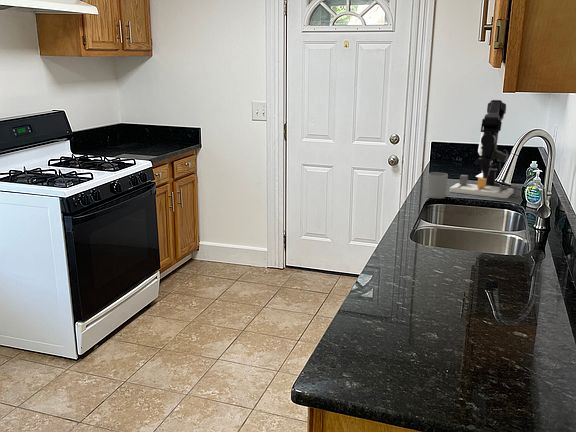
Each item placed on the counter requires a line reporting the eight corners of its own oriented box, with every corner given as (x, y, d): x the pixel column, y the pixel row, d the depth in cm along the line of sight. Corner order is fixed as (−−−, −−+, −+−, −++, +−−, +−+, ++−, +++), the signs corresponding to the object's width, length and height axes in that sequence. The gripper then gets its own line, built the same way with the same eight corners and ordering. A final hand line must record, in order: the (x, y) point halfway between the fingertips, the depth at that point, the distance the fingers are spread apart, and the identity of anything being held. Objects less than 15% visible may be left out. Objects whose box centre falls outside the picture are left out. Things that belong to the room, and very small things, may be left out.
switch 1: (461, 183, 260) (461, 174, 259) (467, 183, 258) (468, 175, 257) (459, 184, 257) (460, 175, 256) (465, 184, 256) (466, 176, 254)
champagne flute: (491, 177, 285) (495, 130, 278) (478, 177, 285) (482, 130, 279) (486, 175, 291) (491, 129, 285) (474, 175, 291) (478, 129, 285)
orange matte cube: (479, 186, 252) (479, 177, 251) (485, 187, 251) (486, 178, 250) (477, 187, 250) (478, 178, 249) (484, 188, 248) (484, 179, 247)
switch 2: (501, 187, 250) (501, 178, 249) (508, 188, 248) (508, 179, 247) (499, 188, 248) (500, 179, 247) (506, 189, 246) (507, 180, 245)
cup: (447, 195, 246) (449, 173, 243) (444, 199, 238) (446, 176, 236) (428, 193, 249) (430, 171, 246) (424, 197, 242) (426, 174, 239)
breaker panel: (457, 186, 263) (458, 182, 262) (513, 193, 250) (513, 188, 249) (449, 191, 252) (449, 187, 252) (506, 198, 239) (507, 193, 239)
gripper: (502, 148, 239) (499, 183, 244) (512, 143, 255) (508, 176, 259) (476, 146, 245) (473, 180, 249) (487, 141, 260) (484, 174, 264)
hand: (486, 178), depth 255 cm, fingers closed
